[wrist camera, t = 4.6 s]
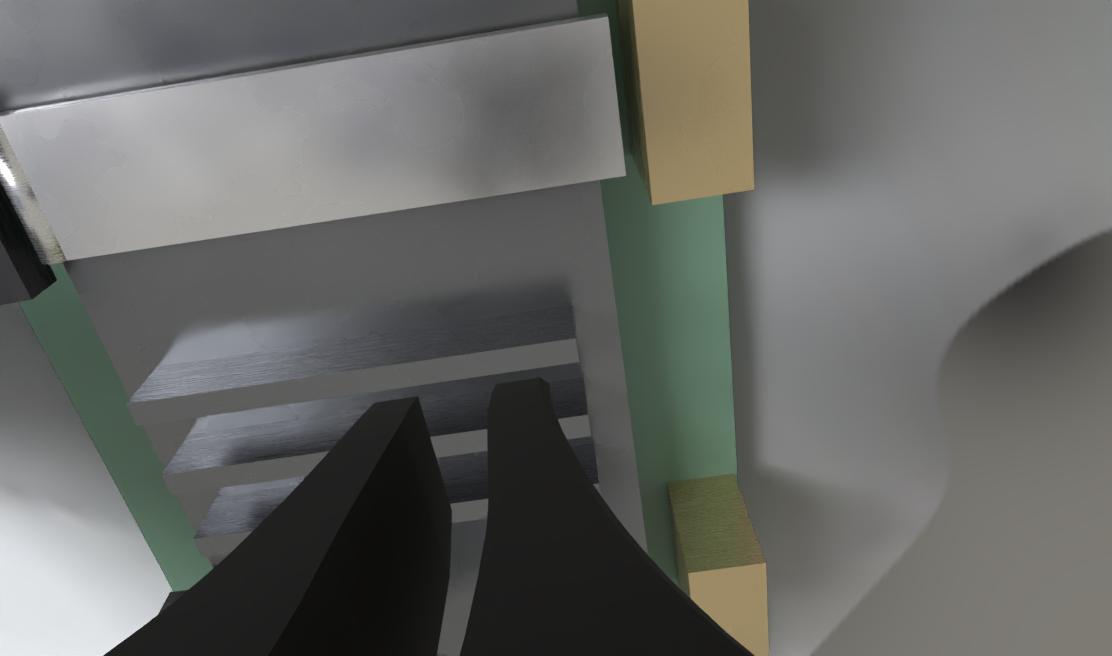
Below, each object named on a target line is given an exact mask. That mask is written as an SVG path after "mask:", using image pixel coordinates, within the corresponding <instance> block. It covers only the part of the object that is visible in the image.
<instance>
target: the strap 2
mask: <svg viewBox="0 0 1112 656" xmlns="http://www.w3.org/2000/svg"><path fill="white" fill-rule="evenodd" d="M621 176H626V171H625V162H624V153H623V144H622V136H621V127H620V118H619V109H618V100H617V91H616V82H615V73H614V64H613V55H612V46H611V38H610V29H609V20H608V16H607V14H606V13H603V14H597V15H591V16H585V17H579V18H572V19H566V20H560V21H554V22H548V23H542V24H536V25H530V26H524V27H518V28H512V29H506V30H499V31H493V32H487V33H481V34H475V35H469V36H463V37H457V38H451V39H445V40H439V41H433V42H427V43H420V44H414V45H408V46H402V47H396V48H390V49H384V50H378V51H372V52H366V53H360V54H354V55H347V56H341V57H335V58H329V59H323V60H317V61H311V62H305V63H299V64H293V65H287V66H281V67H274V68H268V69H262V70H256V71H250V72H244V73H238V74H232V75H226V76H220V77H214V78H208V79H201V80H195V81H189V82H183V83H177V84H171V85H165V86H159V87H153V88H147V89H141V90H135V91H129V92H122V93H116V94H110V95H104V96H98V97H92V98H86V99H80V100H74V101H68V102H62V103H56V104H49V105H43V106H37V107H31V108H25V109H19V110H9V111H3V112H0V181H1V183H2V185H3V187H4V189H5V191H6V193H7V195H8V197H9V199H10V201H11V203H12V205H13V207H14V209H15V211H16V213H17V215H18V217H19V219H20V221H21V223H22V225H23V227H24V229H25V231H26V233H27V235H28V236H29V238H30V240H31V242H32V244H33V246H34V248H35V250H36V252H37V254H38V256H39V258H40V260H41V262H42V264H44V265H51V264H57V263H61V262H64V261H68V260H74V259H81V258H88V257H94V256H101V255H107V254H114V253H121V252H127V251H134V250H140V249H147V248H153V247H160V246H167V245H173V244H180V243H186V242H193V241H200V240H206V239H213V238H219V237H226V236H233V235H239V234H246V233H252V232H259V231H266V230H272V229H279V228H285V227H292V226H298V225H305V224H312V223H318V222H325V221H331V220H338V219H345V218H351V217H358V216H364V215H371V214H378V213H384V212H391V211H397V210H404V209H411V208H417V207H424V206H430V205H437V204H443V203H450V202H457V201H463V200H470V199H476V198H483V197H490V196H496V195H503V194H509V193H516V192H523V191H529V190H536V189H542V188H549V187H556V186H562V185H569V184H575V183H582V182H588V181H595V180H602V179H608V178H615V177H621Z"/></svg>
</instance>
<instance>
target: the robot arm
mask: <svg viewBox="0 0 1112 656" xmlns="http://www.w3.org/2000/svg"><path fill="white" fill-rule="evenodd" d="M487 447H488V514H487V527H486V533H485V539H484V545H483V550H482V556H481V561H480V567H479V573H478V578H477V583H476V588H475V592H474V597H473V601H472V606H471V610H470V615H469V619H468V624H467V628H466V633H465V637H464V641H463V644H462V648H461V652H460V655H459V656H755V655H754V654H752V653H751V652H750V651H749V650H748V649H746V648H745V647H744V646H743V645H741V644H740V643H739V642H738V641H737V640H735V639H734V638H733V637H732V636H731V635H729V634H728V633H727V632H726V631H725V630H724V629H723V628H721V627H720V626H719V625H718V624H717V623H716V622H715V621H714V620H713V619H712V618H711V617H710V616H709V615H708V614H707V613H705V612H704V611H703V610H702V609H701V608H700V607H699V606H698V605H697V604H696V603H695V602H694V601H693V600H692V599H691V598H690V597H688V596H687V595H686V594H685V593H684V592H683V591H682V590H681V589H680V588H679V587H678V586H677V585H676V584H675V583H674V582H673V581H672V580H671V579H670V578H669V577H668V576H667V575H666V574H665V573H664V572H663V571H662V570H661V569H660V568H659V566H658V565H657V564H656V563H655V562H654V561H653V560H652V559H651V558H650V557H649V556H648V554H647V553H646V552H645V551H644V550H643V549H642V548H641V546H640V545H639V544H638V543H637V542H636V540H635V539H634V538H633V537H632V536H631V535H630V533H629V532H628V531H627V530H626V529H625V527H624V526H623V525H622V523H621V522H620V521H619V520H618V518H617V517H616V516H615V514H614V513H613V512H612V510H611V509H610V508H609V506H608V505H607V503H606V502H605V501H604V499H603V498H602V496H601V495H600V493H599V492H598V490H597V489H596V488H595V486H594V485H593V483H592V482H591V480H590V478H589V477H588V475H587V474H586V472H585V471H584V469H583V467H582V466H581V464H580V462H579V460H578V458H577V457H576V455H575V453H574V451H573V450H572V448H571V446H570V444H569V442H568V441H567V439H566V437H565V435H564V433H563V431H562V428H561V426H560V424H559V421H558V419H557V416H556V414H555V409H554V404H553V399H552V394H551V389H550V384H549V383H548V382H546V381H545V380H543V379H542V378H540V377H538V378H532V379H525V380H519V381H512V382H506V383H499V384H495V387H494V389H493V392H492V395H491V398H490V402H489V406H488V409H487ZM451 531H452V509H451V506H450V502H449V499H448V496H447V492H446V489H445V485H444V482H443V479H442V475H441V472H440V469H439V465H438V462H437V458H436V455H435V452H434V448H433V445H432V442H431V438H430V435H429V432H428V428H427V425H426V421H425V418H424V415H423V411H422V408H421V405H420V401H419V398H418V396H415V397H409V398H402V399H396V400H389V401H383V402H376V403H374V404H373V405H372V406H371V407H370V408H369V409H368V410H367V411H366V412H365V413H364V414H363V415H362V416H361V417H360V418H359V419H358V420H357V421H356V422H355V423H354V425H353V426H352V427H351V428H350V429H349V430H348V431H347V432H346V433H345V434H344V436H343V437H342V438H341V439H340V440H339V441H338V442H337V443H336V445H335V446H334V447H333V448H332V449H331V450H330V451H329V452H328V453H327V455H326V456H325V457H324V458H323V459H322V460H321V461H320V462H319V463H318V464H317V465H316V466H315V468H314V469H313V470H312V471H311V472H310V473H309V474H308V475H307V476H306V477H305V478H304V479H303V481H302V482H301V483H300V484H299V485H298V486H297V487H296V488H295V489H294V490H293V491H292V492H291V493H290V495H289V496H288V497H287V498H286V499H285V500H284V501H283V502H282V503H281V504H280V505H279V506H278V507H277V508H276V509H275V510H274V511H272V512H271V513H270V514H269V515H268V516H267V517H266V518H265V519H264V520H263V521H262V522H261V523H260V524H259V525H258V526H257V527H256V528H255V529H254V530H253V531H252V532H251V533H250V534H249V535H248V536H247V537H246V538H245V539H244V540H243V541H242V542H241V543H240V544H239V545H238V546H237V547H236V548H235V549H234V550H233V551H232V552H231V553H230V554H229V555H228V556H226V557H225V558H224V559H223V560H222V561H221V562H220V563H219V564H218V565H217V566H215V567H214V568H213V569H212V570H211V571H210V572H209V573H207V574H206V575H205V576H204V577H203V578H202V579H201V580H200V581H198V582H197V583H196V584H195V585H193V586H192V587H191V588H190V589H189V590H187V591H186V592H185V593H184V594H183V595H181V596H180V597H179V598H178V599H177V600H175V601H174V602H173V603H172V604H171V605H169V606H168V607H167V608H166V609H165V610H163V611H162V612H161V613H160V614H158V615H157V616H156V617H155V618H153V619H152V620H151V621H150V622H148V623H147V624H146V625H144V626H143V627H142V628H140V629H139V630H138V631H136V632H135V633H134V634H132V635H131V636H129V637H128V638H127V639H125V640H124V641H123V642H121V643H120V644H119V645H117V646H116V647H114V648H113V649H112V650H110V651H109V652H108V653H106V654H105V655H104V656H437V651H438V645H439V639H440V634H441V628H442V621H443V615H444V609H445V603H446V597H447V591H448V584H449V578H450V560H451Z"/></svg>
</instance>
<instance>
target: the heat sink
mask: <svg viewBox="0 0 1112 656" xmlns="http://www.w3.org/2000/svg"><path fill="white" fill-rule="evenodd" d="M615 5H616V14H617V24H618V33H619V42H620V52H621V61H622V70H623V80H624V89H625V98H626V108H627V117H628V126H629V136H630V145H631V154H632V157H633V160H634V162H635V165H636V167H637V169H638V172H639V174H640V177H641V179H642V182H643V184H644V186H645V189H646V191H647V194H648V196H649V198H650V201H651V203H652V205H658V204H664V203H671V202H677V201H684V200H690V199H697V198H703V197H710V196H716V195H723V194H729V193H736V192H742V191H749V190H754V165H753V133H752V102H751V70H750V39H749V7H748V0H615ZM572 18H579V16H578V8H577V0H0V112H3V111H9V110H19V109H25V108H31V107H37V106H43V105H49V104H56V103H62V102H68V101H74V100H80V99H86V98H92V97H98V96H104V95H110V94H116V93H122V92H129V91H135V90H141V89H147V88H153V87H159V86H165V85H171V84H177V83H183V82H189V81H195V80H201V79H208V78H214V77H220V76H226V75H232V74H238V73H244V72H250V71H256V70H262V69H268V68H274V67H281V66H287V65H293V64H299V63H305V62H311V61H317V60H323V59H329V58H335V57H341V56H347V55H354V54H360V53H366V52H372V51H378V50H384V49H390V48H396V47H402V46H408V45H414V44H420V43H427V42H433V41H439V40H445V39H451V38H457V37H463V36H469V35H475V34H481V33H487V32H493V31H499V30H506V29H512V28H518V27H524V26H530V25H536V24H542V23H548V22H554V21H560V20H566V19H572ZM62 263H63V265H64V267H65V269H66V271H67V273H68V275H69V277H70V279H71V281H72V283H73V285H74V287H75V289H76V291H77V293H78V295H79V297H80V299H81V301H82V303H83V305H84V307H85V309H86V311H87V313H88V315H89V317H90V319H91V322H92V324H93V326H94V328H95V330H96V332H97V334H98V336H99V338H100V340H101V342H102V344H103V346H104V348H105V350H106V352H107V354H108V356H109V358H110V360H111V362H112V364H113V366H114V368H115V370H116V372H117V374H118V376H119V378H120V380H121V382H122V384H123V386H124V388H125V390H126V392H127V394H128V396H129V398H130V400H129V401H128V402H127V403H126V405H127V407H128V409H129V411H130V413H131V415H132V417H133V419H134V421H135V423H136V425H137V426H141V425H143V427H144V429H145V431H146V433H147V435H148V437H149V439H150V441H151V443H152V445H153V447H154V449H155V451H156V453H157V455H158V457H159V459H160V461H161V463H162V465H163V467H164V469H165V470H164V472H163V473H162V477H163V479H164V481H165V483H166V486H167V488H168V490H169V492H170V494H171V495H175V494H177V496H178V498H179V500H180V502H181V504H182V506H183V508H184V510H185V512H186V514H187V516H188V518H189V520H190V522H191V524H192V526H193V528H194V530H195V532H196V535H195V537H194V539H193V540H194V542H195V544H196V546H197V548H198V550H199V552H200V554H201V556H202V557H206V556H208V559H209V561H210V563H211V565H212V567H213V568H214V567H215V566H217V565H218V564H219V563H220V562H221V561H222V560H223V559H224V558H225V557H226V556H228V555H229V554H230V553H231V552H232V551H233V550H234V549H235V548H236V547H237V546H238V545H239V544H240V543H241V542H242V541H243V540H244V539H245V538H246V537H247V536H248V535H249V534H250V533H251V532H252V531H253V530H254V529H255V528H256V527H257V526H258V525H259V524H260V523H261V522H262V521H263V520H264V519H265V518H266V517H267V516H268V515H269V514H270V513H271V512H272V511H274V510H275V509H276V508H277V507H278V506H279V505H280V504H281V503H282V502H283V501H284V500H285V499H286V498H287V497H288V496H289V495H290V493H291V492H292V491H293V490H294V489H295V488H296V487H297V486H298V485H299V484H300V483H301V482H302V481H303V479H304V478H305V477H306V476H307V475H308V474H309V473H310V472H311V471H312V470H313V469H314V468H315V466H316V465H317V464H318V463H319V462H320V461H321V460H322V459H323V458H324V457H325V456H326V455H327V453H328V452H329V451H330V450H331V449H332V448H333V447H334V446H335V445H336V443H337V442H338V441H339V440H340V439H341V438H342V437H343V436H344V434H345V433H346V432H347V431H348V430H349V429H350V428H351V427H352V426H353V425H354V423H355V422H356V421H357V420H358V419H359V418H360V417H361V416H362V415H363V414H364V413H365V412H366V411H367V410H368V409H369V408H370V407H371V406H372V405H373V404H374V403H376V402H383V401H389V400H396V399H402V398H409V397H415V396H418V398H419V401H420V405H421V408H422V411H423V415H424V418H425V421H426V425H427V428H428V432H429V435H430V438H431V442H432V445H433V448H434V452H435V455H436V458H437V462H438V465H439V469H440V472H441V475H442V479H443V482H444V485H445V489H446V492H447V496H448V499H449V502H450V506H451V509H452V531H451V560H450V578H449V584H448V591H447V597H446V603H445V609H444V615H443V621H442V628H441V634H440V639H439V645H438V651H437V653H440V654H444V655H448V656H459V655H460V652H461V648H462V644H463V641H464V637H465V633H466V628H467V624H468V619H469V615H470V610H471V606H472V601H473V597H474V592H475V588H476V583H477V578H478V573H479V567H480V561H481V556H482V550H483V545H484V539H485V533H486V527H487V514H488V447H487V409H488V406H489V402H490V398H491V395H492V392H493V389H494V387H495V384H499V383H506V382H512V381H519V380H525V379H532V378H538V377H540V378H542V379H543V380H545V381H546V382H548V383H549V384H550V389H551V394H552V399H553V404H554V409H555V414H556V416H557V419H558V421H559V424H560V426H561V428H562V431H563V433H564V435H565V437H566V439H567V441H568V442H569V444H570V446H571V448H572V450H573V451H574V453H575V455H576V457H577V458H578V460H579V462H580V464H581V466H582V467H583V469H584V471H585V472H586V474H587V475H588V477H589V478H590V480H591V482H592V483H593V485H594V486H595V488H596V489H597V490H598V492H599V493H600V495H601V496H602V498H603V499H604V501H605V502H606V503H607V505H608V506H609V508H610V509H611V510H612V512H613V513H614V514H615V516H616V517H617V518H618V520H619V521H620V522H621V523H622V525H623V526H624V527H625V529H626V530H627V531H628V532H629V533H630V535H631V536H632V537H633V538H634V539H635V540H636V542H637V543H638V544H639V545H640V546H641V548H642V549H643V550H644V551H645V552H646V553H647V554H648V550H647V543H646V535H645V527H644V519H643V512H642V504H641V496H640V488H639V481H638V473H637V465H636V457H635V450H634V442H633V434H632V426H631V419H630V411H629V403H628V395H627V388H626V380H625V372H624V364H623V357H622V349H621V341H620V333H619V326H618V318H617V310H616V302H615V295H614V287H613V279H612V271H611V264H610V256H609V248H608V240H607V233H606V225H605V217H604V210H603V202H602V194H601V186H600V180H595V181H588V182H582V183H575V184H569V185H562V186H556V187H549V188H542V189H536V190H529V191H523V192H516V193H509V194H503V195H496V196H490V197H483V198H476V199H470V200H463V201H457V202H450V203H443V204H437V205H430V206H424V207H417V208H411V209H404V210H397V211H391V212H384V213H378V214H371V215H364V216H358V217H351V218H345V219H338V220H331V221H325V222H318V223H312V224H305V225H298V226H292V227H285V228H279V229H272V230H266V231H259V232H252V233H246V234H239V235H233V236H226V237H219V238H213V239H206V240H200V241H193V242H186V243H180V244H173V245H167V246H160V247H153V248H147V249H140V250H134V251H127V252H121V253H114V254H107V255H101V256H94V257H88V258H81V259H74V260H68V261H64V262H62ZM56 281H57V279H56V277H55V275H54V273H53V271H52V269H51V267H50V265H44V264H42V262H41V260H40V258H39V256H38V254H37V252H36V250H35V248H34V246H33V244H32V242H31V240H30V238H29V236H28V235H27V233H26V231H25V229H24V227H23V225H22V223H21V221H20V219H19V217H18V215H17V213H16V211H15V209H14V207H13V205H12V203H11V201H10V199H9V197H8V195H7V193H6V191H5V189H4V187H3V185H2V183H1V181H0V305H2V304H8V303H15V302H21V301H28V300H32V299H34V298H35V297H36V296H37V295H39V294H40V293H41V292H43V291H44V290H45V289H47V288H48V287H49V286H51V285H52V284H53V283H54V282H56ZM667 490H668V499H669V509H670V518H671V527H672V536H673V546H674V555H675V564H676V574H677V581H678V586H679V588H680V589H681V590H682V591H683V592H684V593H685V594H686V595H687V596H688V597H690V598H691V599H692V600H693V601H694V602H695V603H696V604H697V605H698V606H699V607H700V608H701V609H702V610H703V611H704V612H705V613H707V614H708V615H709V616H710V617H711V618H712V619H713V620H714V621H715V622H716V623H717V624H718V625H719V626H720V627H721V628H723V629H724V630H725V631H726V632H727V633H728V634H729V635H731V636H732V637H733V638H734V639H735V640H737V641H738V642H739V643H740V644H741V645H743V646H744V647H745V648H746V649H748V650H749V651H750V652H751V653H752V654H754V655H755V656H769V637H768V606H767V574H766V561H765V558H764V556H763V553H762V550H761V547H760V545H759V542H758V539H757V536H756V534H755V531H754V528H753V525H752V522H751V520H750V517H749V514H748V511H747V509H746V506H745V503H744V500H743V498H742V495H741V492H740V489H739V487H738V484H737V481H736V478H735V475H734V474H726V475H719V476H712V477H704V478H697V479H690V480H682V481H675V482H668V483H667ZM186 591H187V590H182V591H174V592H170V594H169V595H168V597H167V599H166V601H165V603H164V605H163V607H162V608H161V610H160V612H159V614H160V613H161V612H162V611H163V610H165V609H166V608H167V607H168V606H169V605H171V604H172V603H173V602H174V601H175V600H177V599H178V598H179V597H180V596H181V595H183V594H184V593H185V592H186Z"/></svg>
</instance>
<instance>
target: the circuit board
mask: <svg viewBox="0 0 1112 656" xmlns="http://www.w3.org/2000/svg"><path fill="white" fill-rule="evenodd" d="M577 8H578V16H579V17H585V16H591V15H597V14H603V13H606V14H607V16H608V20H609V29H610V38H611V46H612V55H613V64H614V73H615V82H616V91H617V100H618V109H619V118H620V127H621V136H622V144H623V153H624V162H625V171H626V176H621V177H615V178H608V179H602V180H600V186H601V194H602V202H603V210H604V217H605V225H606V233H607V240H608V248H609V256H610V264H611V271H612V279H613V287H614V295H615V302H616V310H617V318H618V326H619V333H620V341H621V349H622V357H623V364H624V372H625V380H626V388H627V395H628V403H629V411H630V419H631V426H632V434H633V442H634V450H635V457H636V465H637V473H638V481H639V488H640V496H641V504H642V512H643V519H644V527H645V535H646V543H647V550H648V556H649V557H650V558H651V559H652V560H653V561H654V562H655V563H656V564H657V565H658V566H659V568H660V569H661V570H662V571H663V572H664V573H665V574H666V575H667V576H668V577H669V578H670V579H671V580H672V581H673V582H674V583H675V584H676V585H677V586H678V581H677V574H676V564H675V555H674V546H673V536H672V527H671V518H670V509H669V499H668V490H667V483H668V482H675V481H682V480H690V479H697V478H704V477H712V476H719V475H726V474H734V475H735V478H736V481H737V484H738V480H737V461H736V442H735V422H734V403H733V384H732V365H731V345H730V326H729V307H728V288H727V268H726V249H725V230H724V211H723V195H716V196H710V197H703V198H697V199H690V200H684V201H677V202H671V203H664V204H658V205H652V203H651V201H650V198H649V196H648V194H647V191H646V189H645V186H644V184H643V182H642V179H641V177H640V174H639V172H638V169H637V167H636V165H635V162H634V160H633V157H632V154H631V145H630V136H629V126H628V117H627V108H626V98H625V89H624V80H623V70H622V61H621V52H620V42H619V33H618V24H617V14H616V5H615V0H577ZM50 267H51V269H52V271H53V273H54V275H55V277H56V279H57V281H56V282H54V283H53V284H52V285H51V286H49V287H48V288H47V289H45V290H44V291H43V292H41V293H40V294H39V295H37V296H36V297H35V298H34V299H32V300H28V301H21V302H18V303H19V305H20V307H21V309H22V311H23V312H24V314H25V316H26V318H27V320H28V322H29V324H30V325H31V327H32V329H33V331H34V333H35V335H36V337H37V338H38V340H39V342H40V344H41V346H42V348H43V350H44V352H45V353H46V355H47V357H48V359H49V361H50V363H51V365H52V366H53V368H54V370H55V372H56V374H57V376H58V378H59V379H60V381H61V383H62V385H63V387H64V389H65V391H66V392H67V394H68V396H69V398H70V400H71V402H72V404H73V405H74V407H75V409H76V411H77V413H78V415H79V417H80V419H81V420H82V422H83V424H84V426H85V428H86V430H87V432H88V433H89V435H90V437H91V439H92V441H93V443H94V445H95V446H96V448H97V450H98V452H99V454H100V456H101V458H102V459H103V461H104V463H105V465H106V467H107V469H108V471H109V472H110V474H111V476H112V478H113V480H114V482H115V484H116V485H117V487H118V489H119V491H120V493H121V495H122V497H123V499H124V500H125V502H126V504H127V506H128V508H129V510H130V512H131V513H132V515H133V517H134V519H135V521H136V523H137V525H138V526H139V528H140V530H141V532H142V534H143V536H144V538H145V539H146V541H147V543H148V545H149V547H150V549H151V551H152V552H153V554H154V556H155V558H156V560H157V562H158V564H159V566H160V567H161V569H162V571H163V573H164V575H165V577H166V579H167V580H168V582H169V584H170V586H171V588H172V590H173V592H174V591H182V590H189V589H190V588H191V587H192V586H193V585H195V584H196V583H197V582H198V581H200V580H201V579H202V578H203V577H204V576H205V575H206V574H207V573H209V572H210V571H211V570H212V569H213V567H212V565H211V563H210V561H209V559H208V556H206V557H202V556H201V554H200V552H199V550H198V548H197V546H196V544H195V542H194V540H193V539H194V537H195V535H196V532H195V530H194V528H193V526H192V524H191V522H190V520H189V518H188V516H187V514H186V512H185V510H184V508H183V506H182V504H181V502H180V500H179V498H178V496H177V494H175V495H171V494H170V492H169V490H168V488H167V486H166V483H165V481H164V479H163V477H162V473H163V472H164V470H165V469H164V467H163V465H162V463H161V461H160V459H159V457H158V455H157V453H156V451H155V449H154V447H153V445H152V443H151V441H150V439H149V437H148V435H147V433H146V431H145V429H144V427H143V425H141V426H137V425H136V423H135V421H134V419H133V417H132V415H131V413H130V411H129V409H128V407H127V405H126V403H127V402H128V401H129V400H130V398H129V396H128V394H127V392H126V390H125V388H124V386H123V384H122V382H121V380H120V378H119V376H118V374H117V372H116V370H115V368H114V366H113V364H112V362H111V360H110V358H109V356H108V354H107V352H106V350H105V348H104V346H103V344H102V342H101V340H100V338H99V336H98V334H97V332H96V330H95V328H94V326H93V324H92V322H91V319H90V317H89V315H88V313H87V311H86V309H85V307H84V305H83V303H82V301H81V299H80V297H79V295H78V293H77V291H76V289H75V287H74V285H73V283H72V281H71V279H70V277H69V275H68V273H67V271H66V269H65V267H64V265H63V263H62V262H61V263H57V264H51V265H50ZM678 587H679V586H678Z"/></svg>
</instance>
